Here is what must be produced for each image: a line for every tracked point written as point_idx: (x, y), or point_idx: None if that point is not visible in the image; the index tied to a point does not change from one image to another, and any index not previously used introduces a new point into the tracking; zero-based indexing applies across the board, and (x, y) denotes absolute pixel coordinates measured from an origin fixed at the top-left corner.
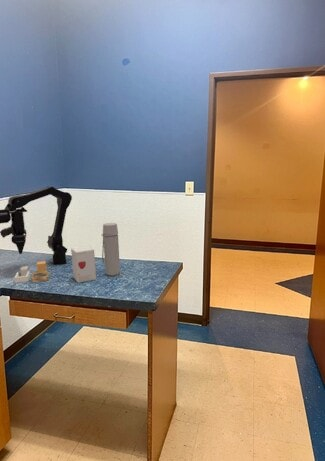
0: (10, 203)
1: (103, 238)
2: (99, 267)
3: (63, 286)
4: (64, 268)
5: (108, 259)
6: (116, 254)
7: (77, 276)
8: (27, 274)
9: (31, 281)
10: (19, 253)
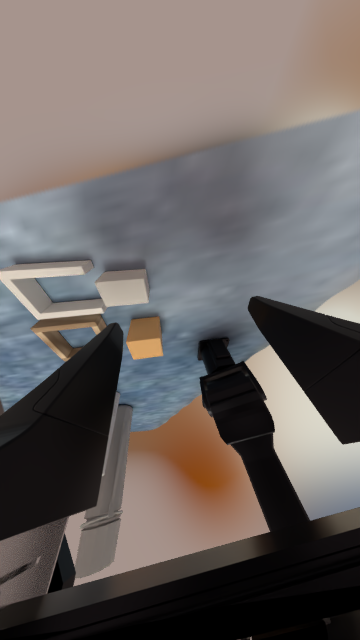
0: None
1: (99, 504)
2: (156, 395)
3: (39, 378)
4: (164, 360)
5: None
6: None
7: None
8: (60, 314)
9: (39, 322)
10: (108, 325)
